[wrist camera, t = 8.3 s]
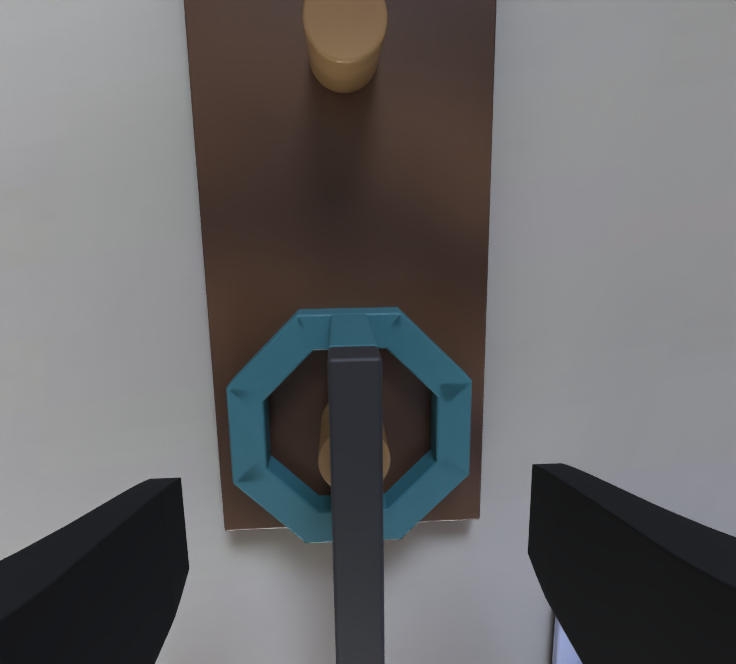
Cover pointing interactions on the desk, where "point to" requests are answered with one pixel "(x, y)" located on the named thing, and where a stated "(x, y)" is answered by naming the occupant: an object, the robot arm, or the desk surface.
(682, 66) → the desk surface
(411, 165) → the rack
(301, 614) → the desk surface
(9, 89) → the desk surface
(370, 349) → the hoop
